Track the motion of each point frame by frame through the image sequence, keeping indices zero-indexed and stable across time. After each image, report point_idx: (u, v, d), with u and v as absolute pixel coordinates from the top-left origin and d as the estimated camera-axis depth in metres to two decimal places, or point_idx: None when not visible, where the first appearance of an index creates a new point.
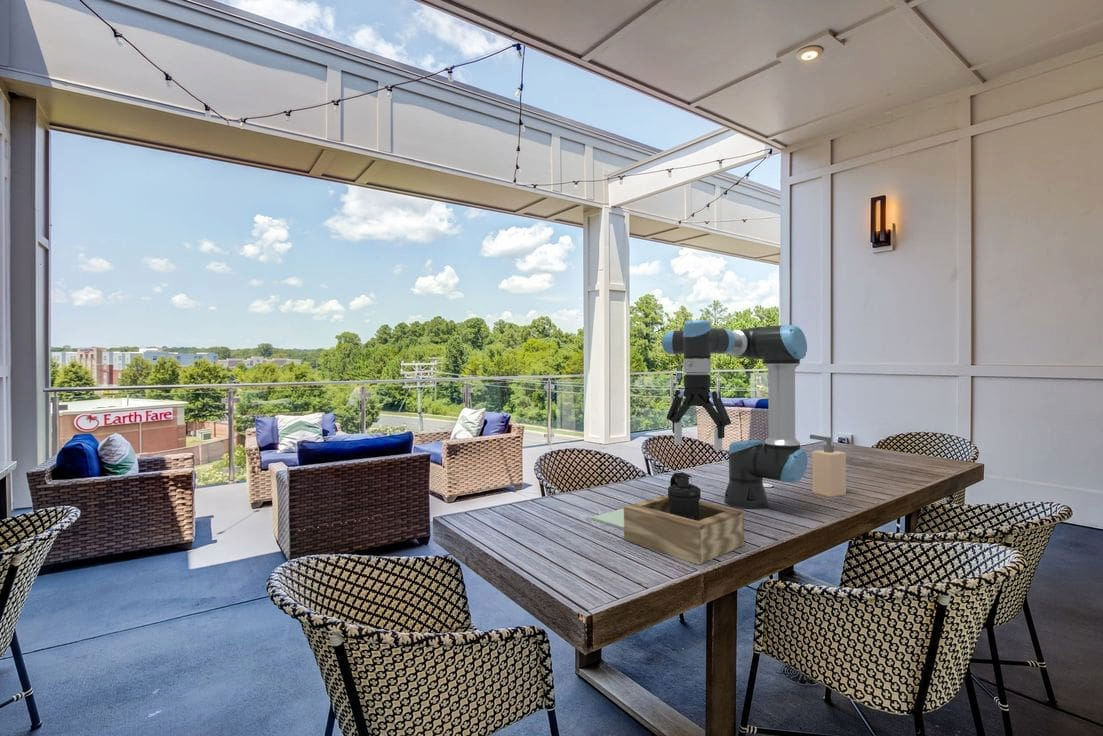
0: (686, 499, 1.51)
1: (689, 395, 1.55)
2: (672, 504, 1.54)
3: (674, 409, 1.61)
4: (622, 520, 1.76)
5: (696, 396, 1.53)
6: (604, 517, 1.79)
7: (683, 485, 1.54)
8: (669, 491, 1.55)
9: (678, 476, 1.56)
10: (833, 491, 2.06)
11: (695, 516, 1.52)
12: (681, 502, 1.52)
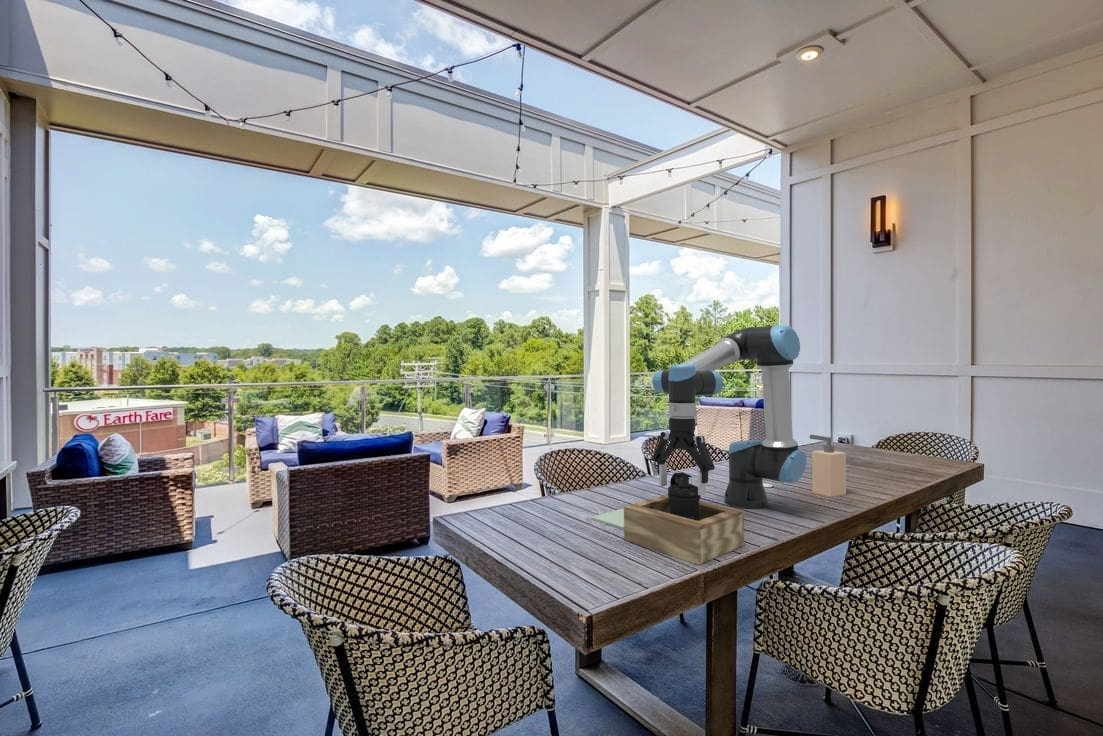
0: (686, 499, 1.51)
1: (674, 438, 1.56)
2: (672, 504, 1.54)
3: (659, 451, 1.61)
4: (622, 520, 1.76)
5: (681, 440, 1.54)
6: (604, 517, 1.79)
7: (683, 485, 1.54)
8: (669, 491, 1.55)
9: (678, 476, 1.56)
10: (833, 491, 2.06)
11: (695, 516, 1.52)
12: (681, 502, 1.52)
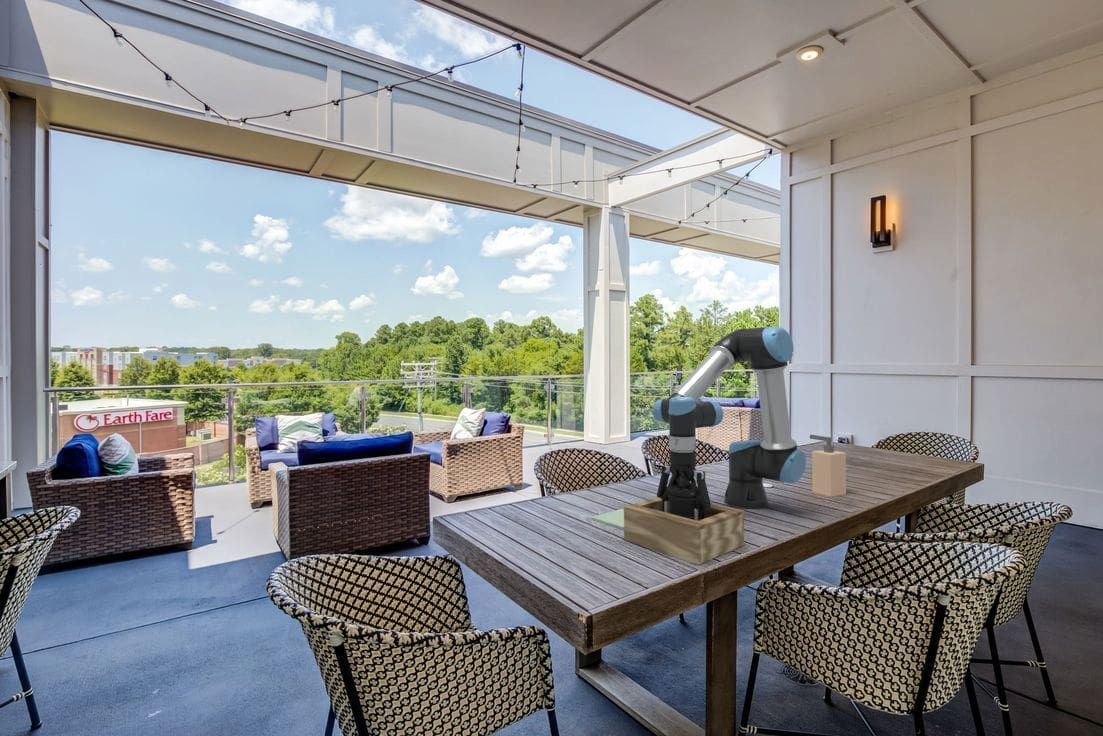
0: (686, 499, 1.51)
1: (674, 471, 1.56)
2: (672, 504, 1.54)
3: (663, 486, 1.61)
4: (622, 520, 1.76)
5: (681, 473, 1.54)
6: (604, 517, 1.79)
7: (683, 485, 1.54)
8: (669, 491, 1.55)
9: (678, 476, 1.56)
10: (833, 491, 2.06)
11: None
12: (680, 502, 1.52)
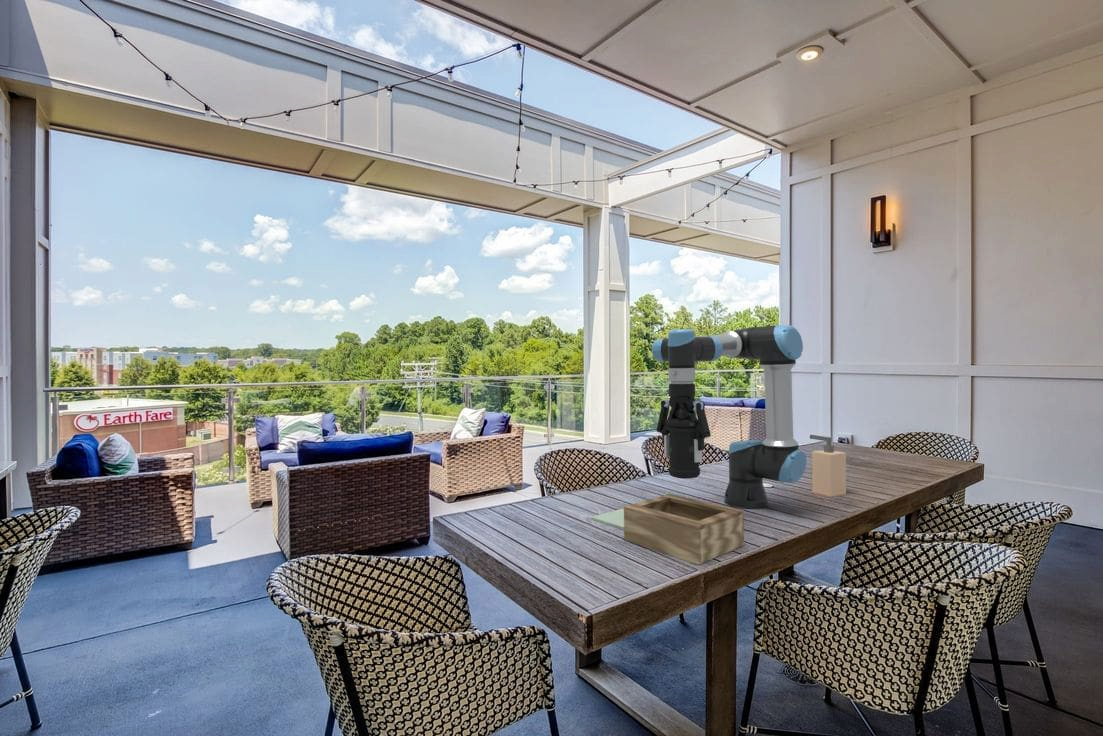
0: (685, 429, 1.51)
1: (674, 404, 1.56)
2: (671, 436, 1.54)
3: (662, 420, 1.61)
4: (622, 520, 1.76)
5: (681, 405, 1.54)
6: (604, 517, 1.79)
7: (682, 417, 1.54)
8: (668, 423, 1.54)
9: (677, 408, 1.55)
10: (833, 491, 2.06)
11: None
12: (680, 432, 1.52)
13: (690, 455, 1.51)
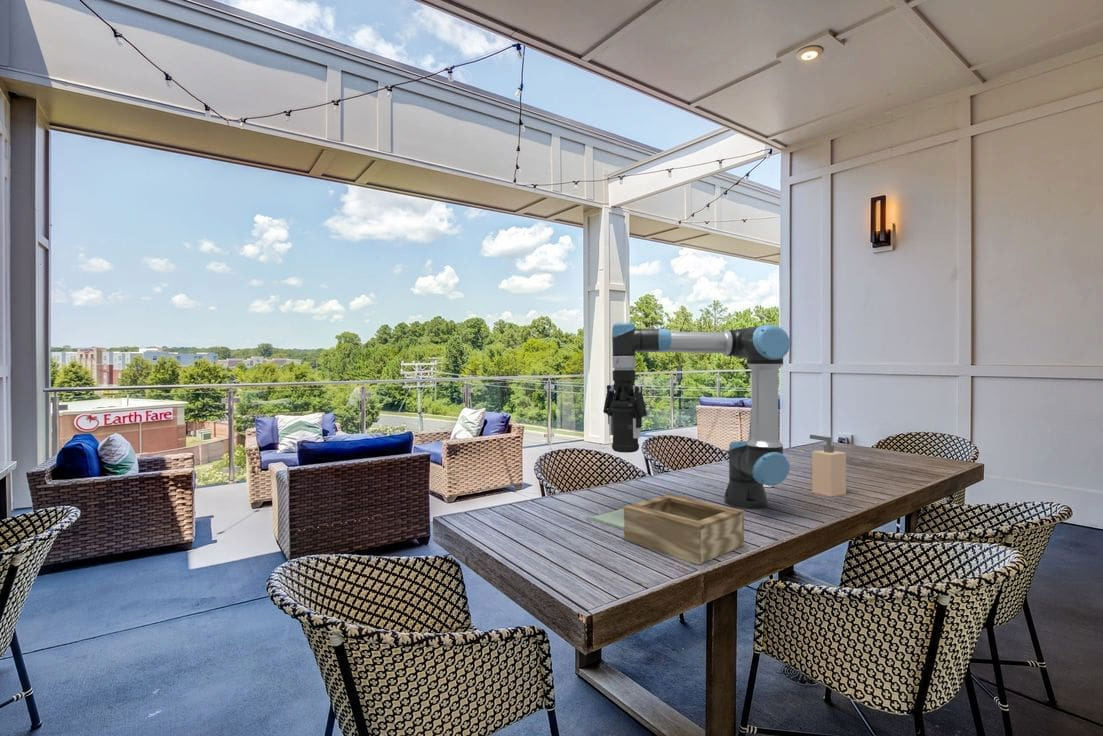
0: (625, 409, 1.73)
1: (617, 388, 1.78)
2: (614, 415, 1.76)
3: (608, 402, 1.83)
4: (622, 520, 1.76)
5: (622, 388, 1.76)
6: (604, 517, 1.79)
7: (623, 399, 1.76)
8: (611, 404, 1.77)
9: (620, 392, 1.78)
10: (833, 491, 2.06)
11: None
12: (621, 412, 1.74)
13: (629, 432, 1.74)
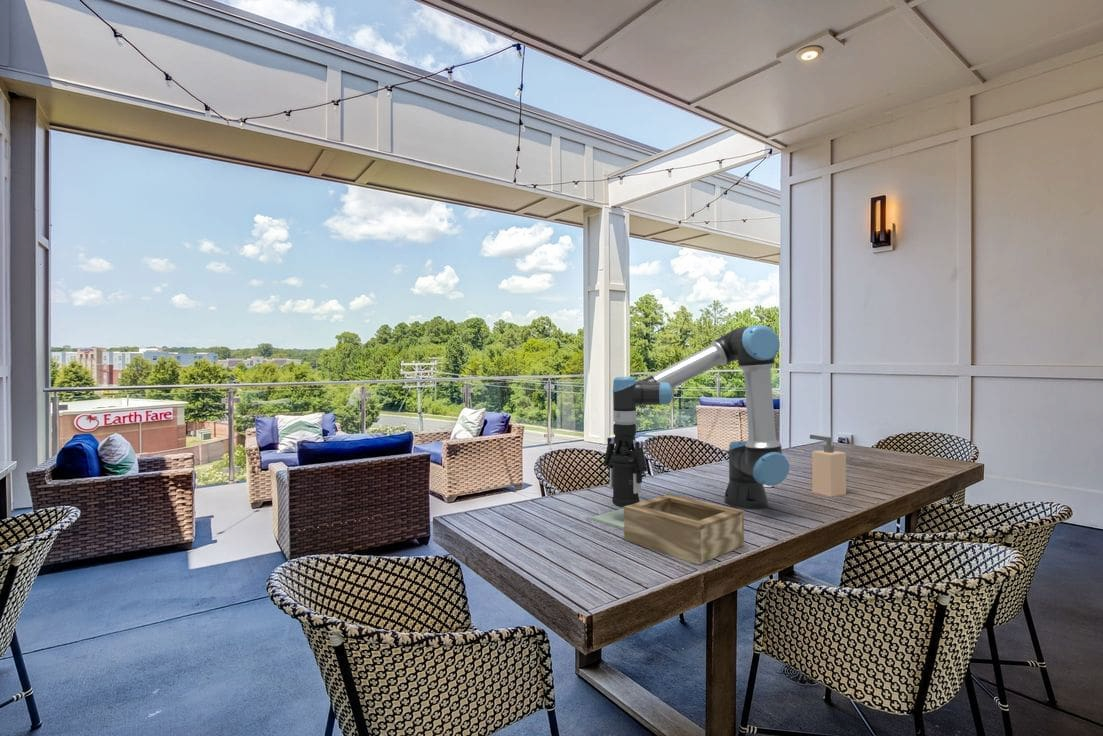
0: (625, 465, 1.73)
1: (617, 442, 1.78)
2: (614, 470, 1.76)
3: (609, 455, 1.83)
4: (622, 520, 1.76)
5: (623, 443, 1.76)
6: (604, 517, 1.79)
7: (624, 453, 1.76)
8: (612, 458, 1.77)
9: (620, 445, 1.78)
10: (833, 491, 2.06)
11: None
12: (621, 467, 1.74)
13: (629, 487, 1.74)
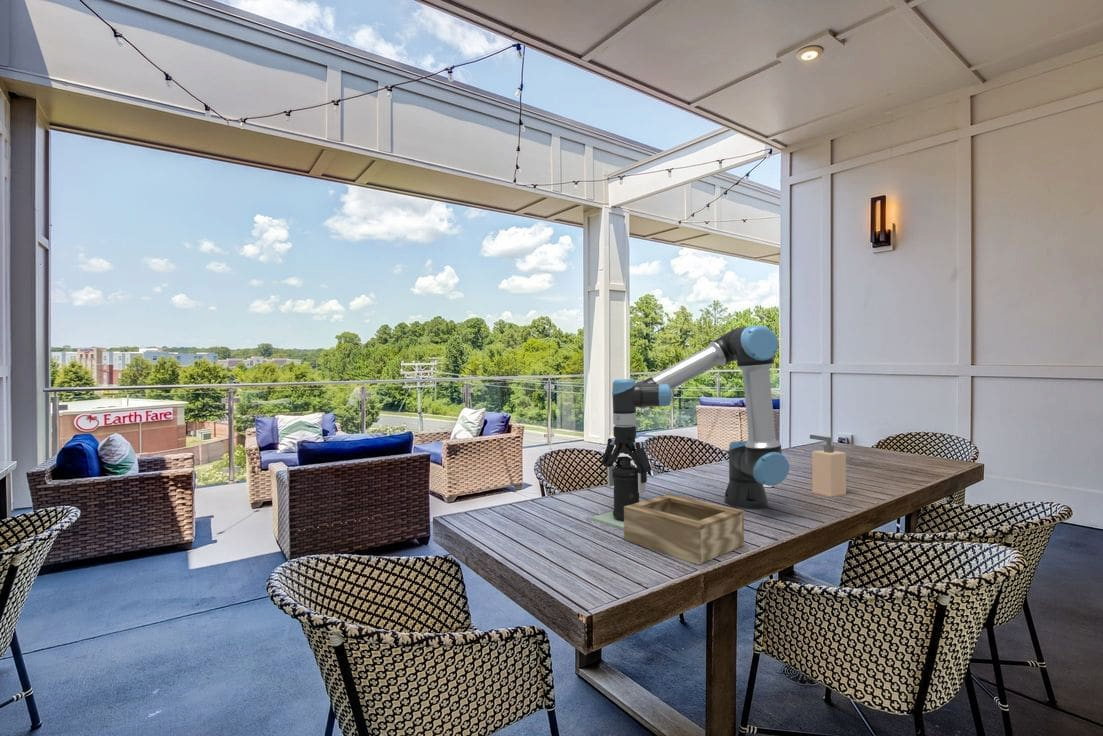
0: (626, 479, 1.73)
1: (618, 444, 1.78)
2: (615, 483, 1.77)
3: (607, 455, 1.84)
4: None
5: (623, 445, 1.77)
6: (604, 517, 1.79)
7: (625, 467, 1.77)
8: (613, 472, 1.77)
9: (621, 459, 1.78)
10: (833, 491, 2.06)
11: (634, 493, 1.75)
12: (622, 481, 1.74)
13: (630, 501, 1.74)
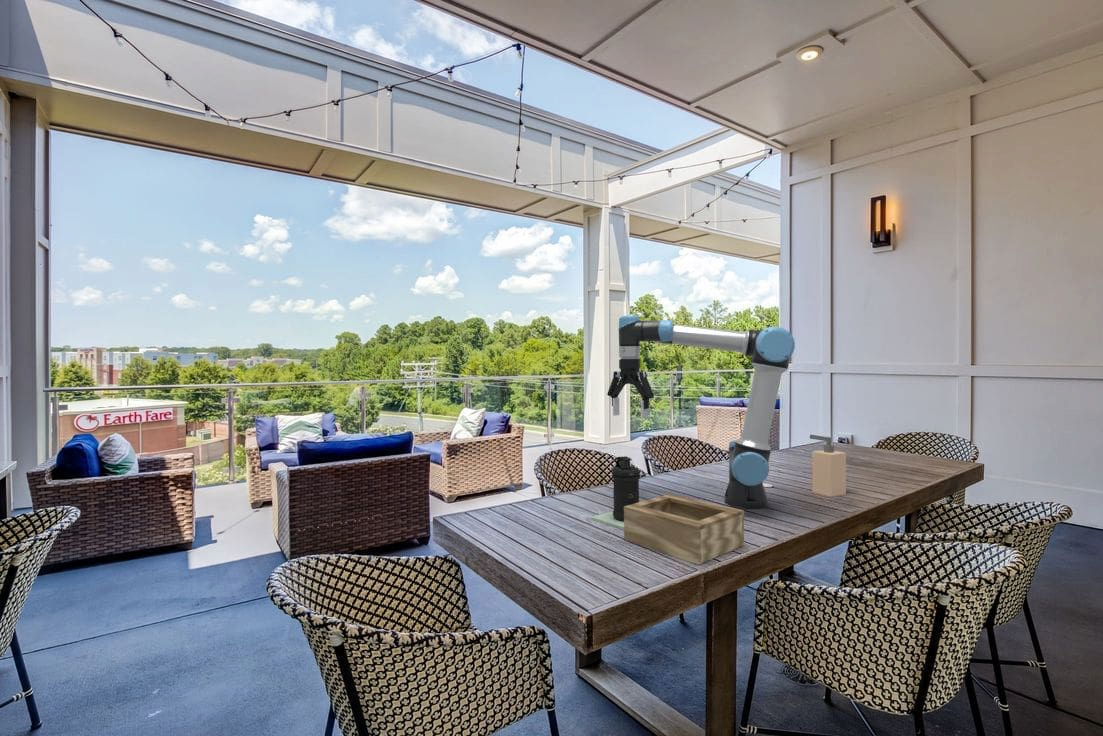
0: (626, 479, 1.74)
1: (623, 375, 1.95)
2: (614, 483, 1.77)
3: (613, 387, 2.00)
4: None
5: (628, 376, 1.93)
6: (604, 517, 1.79)
7: (624, 467, 1.77)
8: (612, 472, 1.77)
9: (621, 459, 1.78)
10: (833, 491, 2.06)
11: (634, 493, 1.75)
12: (621, 481, 1.74)
13: (629, 501, 1.74)
